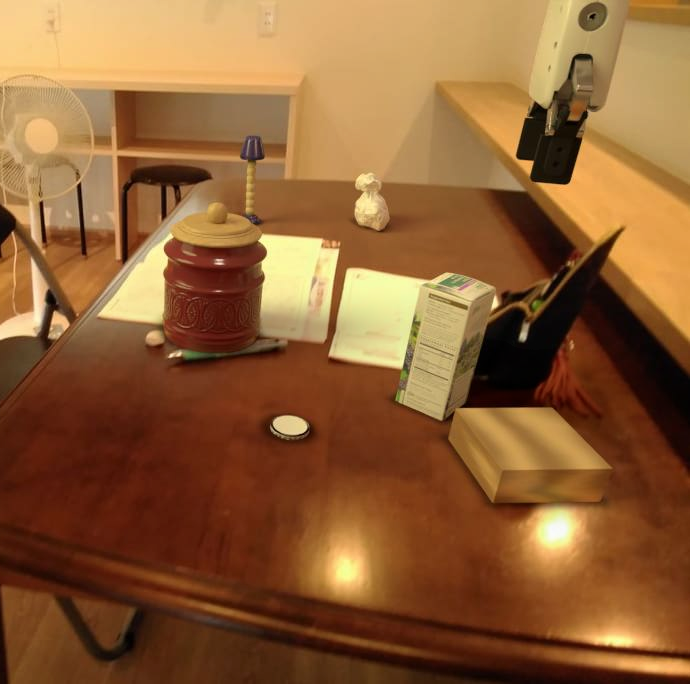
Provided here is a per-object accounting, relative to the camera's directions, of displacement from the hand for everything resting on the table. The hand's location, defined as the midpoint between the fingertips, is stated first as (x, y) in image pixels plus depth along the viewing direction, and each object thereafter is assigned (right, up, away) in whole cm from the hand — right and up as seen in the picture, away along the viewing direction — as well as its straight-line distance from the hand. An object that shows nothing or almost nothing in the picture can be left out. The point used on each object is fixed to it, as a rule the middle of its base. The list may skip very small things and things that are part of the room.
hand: (540, 170), depth 65 cm
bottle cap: (-23, -25, +7) cm, 35 cm away
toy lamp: (-20, +7, +71) cm, 74 cm away
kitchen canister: (-30, -15, +27) cm, 43 cm away
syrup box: (-6, -23, +12) cm, 27 cm away
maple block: (-1, -29, +2) cm, 29 cm away
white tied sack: (+4, +7, +72) cm, 72 cm away
